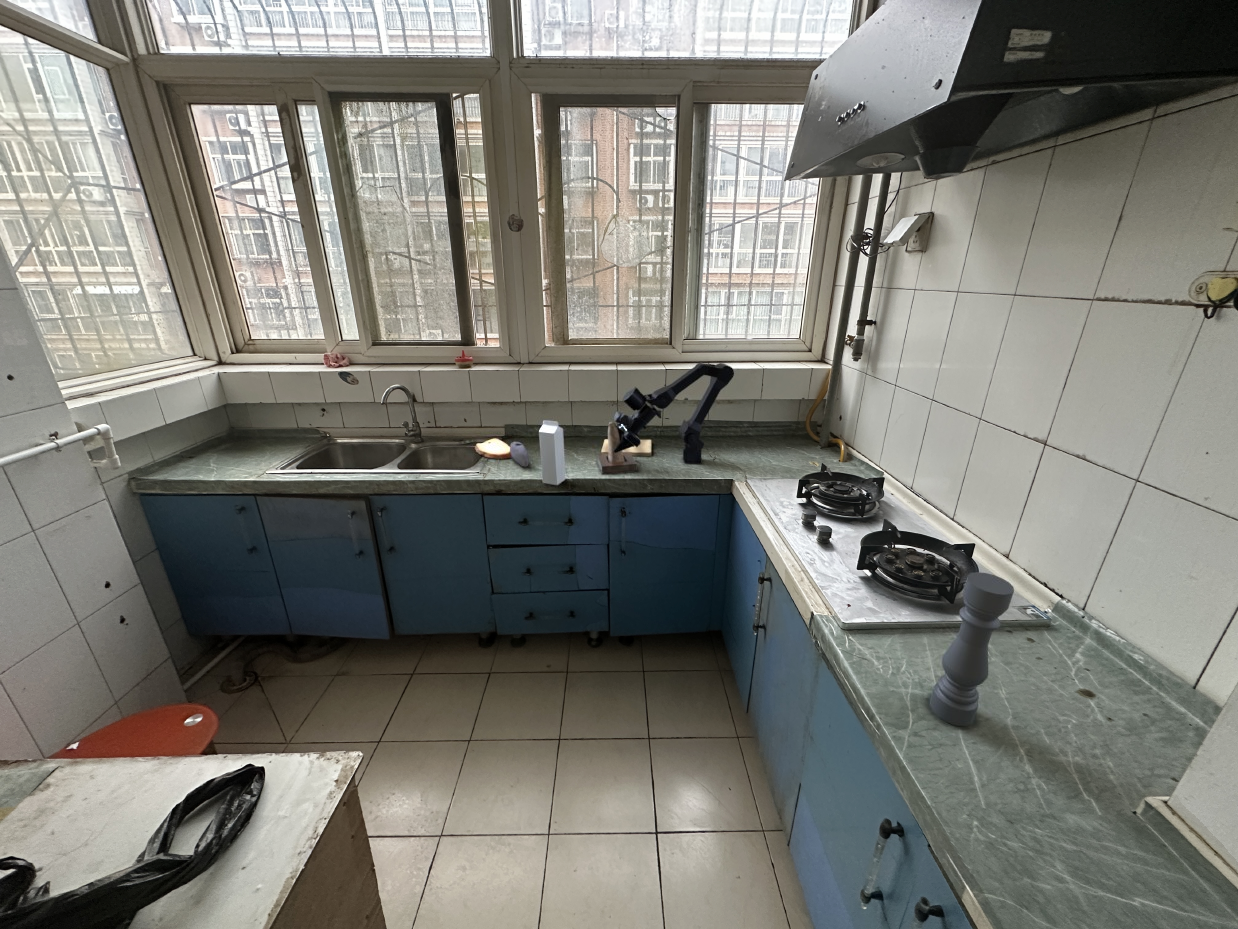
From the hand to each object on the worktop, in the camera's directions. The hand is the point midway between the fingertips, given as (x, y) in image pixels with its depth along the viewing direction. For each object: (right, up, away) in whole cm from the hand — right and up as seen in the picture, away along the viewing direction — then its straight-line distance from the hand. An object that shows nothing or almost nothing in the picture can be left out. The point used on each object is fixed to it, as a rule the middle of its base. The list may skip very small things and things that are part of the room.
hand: (612, 448), depth 185 cm
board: (+6, +1, +21) cm, 22 cm away
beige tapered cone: (+1, -7, +3) cm, 7 cm away
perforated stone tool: (-35, -5, +7) cm, 36 cm away
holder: (+1, -7, +3) cm, 7 cm away
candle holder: (+57, -47, -103) cm, 126 cm away
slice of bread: (-49, -1, +20) cm, 52 cm away
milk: (-20, -12, -10) cm, 26 cm away
